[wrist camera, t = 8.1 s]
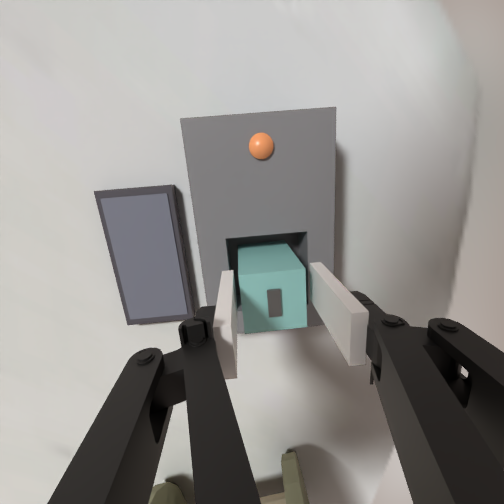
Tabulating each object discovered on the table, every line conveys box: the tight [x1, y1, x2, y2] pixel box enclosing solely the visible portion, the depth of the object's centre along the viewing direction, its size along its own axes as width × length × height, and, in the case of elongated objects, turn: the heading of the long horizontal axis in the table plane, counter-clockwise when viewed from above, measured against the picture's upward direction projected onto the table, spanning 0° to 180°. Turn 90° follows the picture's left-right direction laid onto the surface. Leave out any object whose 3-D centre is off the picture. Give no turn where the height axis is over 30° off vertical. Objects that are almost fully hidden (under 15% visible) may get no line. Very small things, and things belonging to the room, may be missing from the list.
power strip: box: [180, 107, 336, 334], centre depth 20 cm, size 16×10×4 cm, turn 5°
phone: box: [94, 185, 195, 325], centre depth 22 cm, size 6×12×1 cm, turn 4°
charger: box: [238, 240, 307, 334], centre depth 19 cm, size 4×4×7 cm
